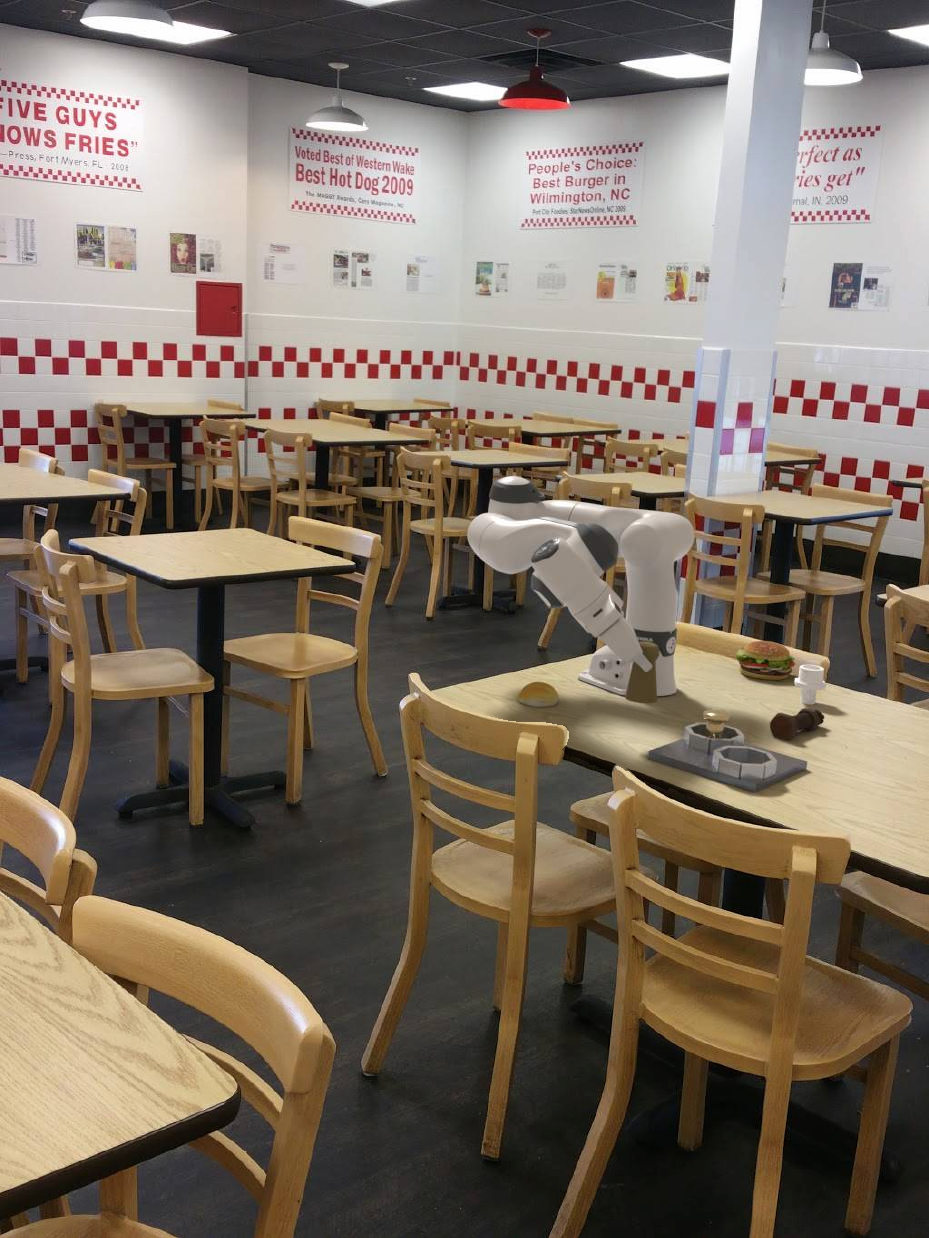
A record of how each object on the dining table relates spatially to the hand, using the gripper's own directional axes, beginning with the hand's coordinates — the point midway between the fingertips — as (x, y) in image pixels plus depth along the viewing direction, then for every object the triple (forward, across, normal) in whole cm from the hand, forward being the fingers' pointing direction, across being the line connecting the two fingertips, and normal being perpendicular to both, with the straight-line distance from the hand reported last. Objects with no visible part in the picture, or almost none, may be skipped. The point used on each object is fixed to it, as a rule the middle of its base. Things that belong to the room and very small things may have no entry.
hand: (647, 664), depth 225 cm
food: (+36, -60, +13) cm, 71 cm away
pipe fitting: (+40, -37, +17) cm, 57 cm away
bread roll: (-3, -23, -25) cm, 34 cm away
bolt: (+35, -14, +12) cm, 40 cm away
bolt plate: (+22, +9, 0) cm, 23 cm away
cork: (+4, 0, -5) cm, 7 cm away
